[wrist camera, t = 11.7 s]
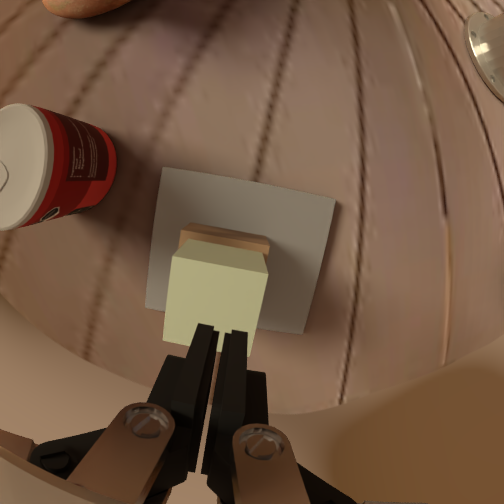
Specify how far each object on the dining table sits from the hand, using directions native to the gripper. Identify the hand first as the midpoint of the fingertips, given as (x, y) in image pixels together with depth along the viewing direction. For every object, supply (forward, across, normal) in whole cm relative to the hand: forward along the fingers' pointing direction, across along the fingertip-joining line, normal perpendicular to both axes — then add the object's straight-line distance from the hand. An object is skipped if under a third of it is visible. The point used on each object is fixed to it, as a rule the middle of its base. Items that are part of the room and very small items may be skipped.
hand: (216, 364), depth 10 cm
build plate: (+16, 0, 0) cm, 16 cm away
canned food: (+16, +15, -5) cm, 23 cm away
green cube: (+11, +1, +1) cm, 11 cm away
